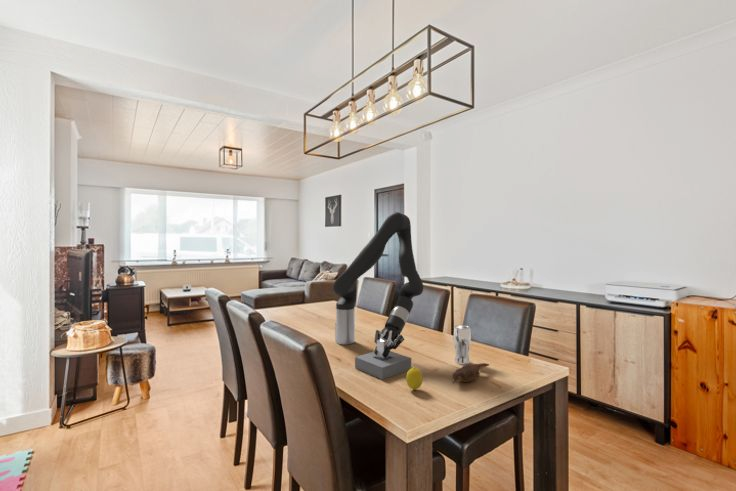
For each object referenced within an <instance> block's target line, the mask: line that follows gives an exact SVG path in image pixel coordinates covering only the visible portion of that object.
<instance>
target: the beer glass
mask: <svg viewBox="0 0 736 491" xmlns="http://www.w3.org/2000/svg"><path fill="white" fill-rule="evenodd" d="M453 328H454V329H453V344H454V349H455V358H454V363H455V364H456V365H461V366H462V365H463V366H466V365H470V364H471V363H470V362H471V361H470V354H469V353H470V347H471V342H472V335H471V327H470V326H468V325H465V324H464V325H462V324H461V325H460V324H459V325H458V324H457V325H454V327H453Z"/></svg>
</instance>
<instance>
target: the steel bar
mask: <svg viewBox="0 0 736 491" xmlns="http://www.w3.org/2000/svg"><path fill="white" fill-rule="evenodd" d="M387 343H388V340H386V339H384V338H383V339H380V340H377V344H376V346H377V359H378V360H381V361H385V360H388V359H389V354H388V356H386V358H385V357H383V355H382V354H383V352H384V350H385V348H386V347H387Z"/></svg>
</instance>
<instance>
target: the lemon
mask: <svg viewBox="0 0 736 491" xmlns="http://www.w3.org/2000/svg"><path fill="white" fill-rule="evenodd" d="M406 372H407V373H406V376H405V377H406V380H405V381H406V385H407V386H408V387H409V388H410V389H412V390H413V391H416V390H417V389H419V388H420V387H422V384H423V374H422V372H421V370H420V369H418V368H417V367H415V366H413V367H411V369H410V370H408V371H406Z"/></svg>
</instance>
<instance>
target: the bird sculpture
mask: <svg viewBox="0 0 736 491" xmlns="http://www.w3.org/2000/svg"><path fill="white" fill-rule="evenodd" d="M488 366H490V364H489V363H485V362H483V363H474V364H467V365H463V366H461V367H460V368H457V369H456V370H455V371H454V372H453V373H452V379H453V380H452V384H454V383H455V382H459V381H460V382H463V383H469V382H471V381H474V380H476V379H477V377H479V376H480V370H481V369H483V368H485V367H488Z"/></svg>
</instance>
